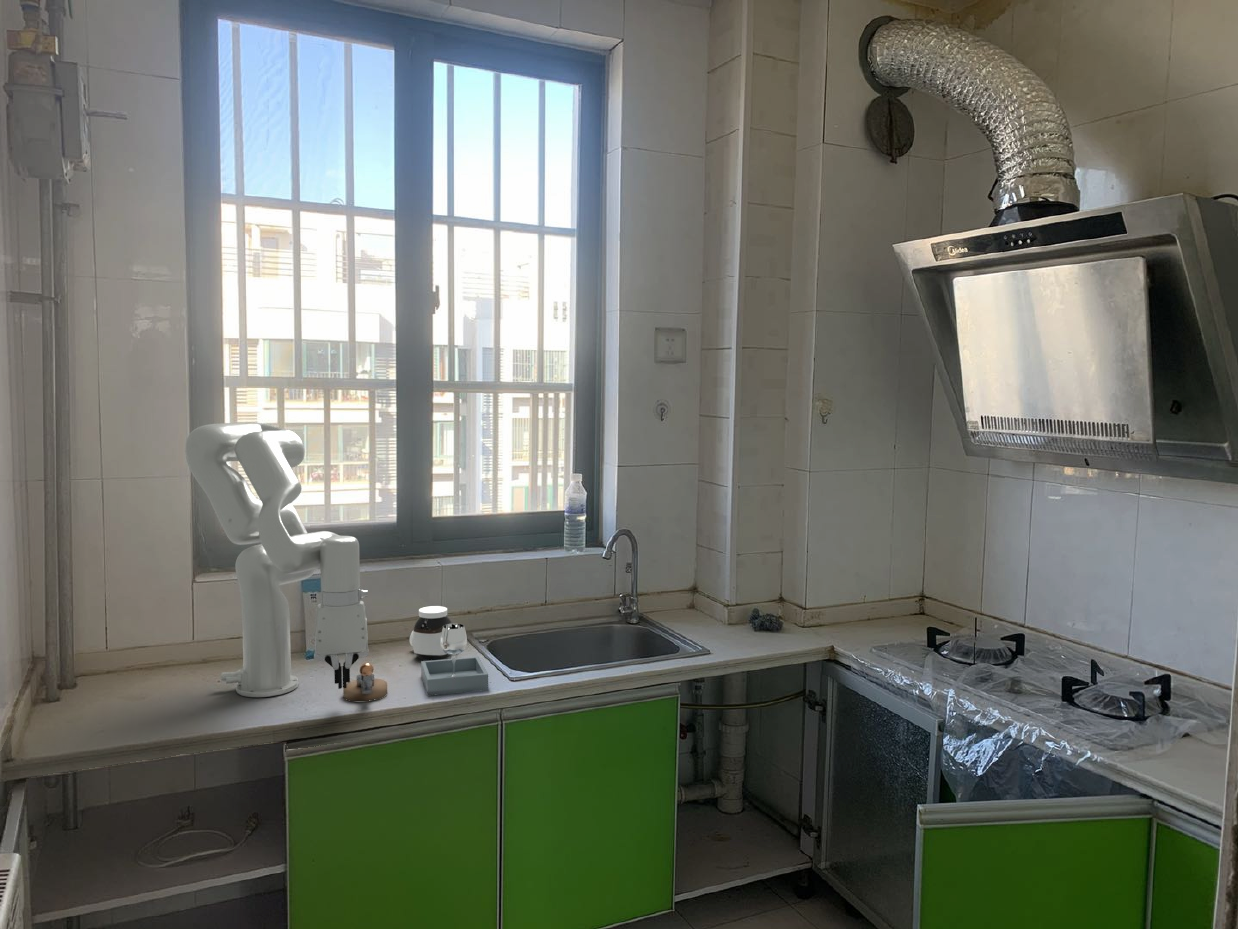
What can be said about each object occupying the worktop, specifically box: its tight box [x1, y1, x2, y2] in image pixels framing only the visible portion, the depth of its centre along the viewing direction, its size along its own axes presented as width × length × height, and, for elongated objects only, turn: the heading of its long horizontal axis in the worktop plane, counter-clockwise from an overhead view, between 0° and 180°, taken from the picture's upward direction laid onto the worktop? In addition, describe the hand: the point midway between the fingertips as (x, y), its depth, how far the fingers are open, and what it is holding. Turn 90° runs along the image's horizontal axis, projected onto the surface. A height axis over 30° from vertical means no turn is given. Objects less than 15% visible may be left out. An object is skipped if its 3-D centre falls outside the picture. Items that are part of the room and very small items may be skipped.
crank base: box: [342, 678, 388, 702], centre depth 186 cm, size 9×9×2 cm
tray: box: [420, 656, 489, 696], centre depth 194 cm, size 13×13×4 cm
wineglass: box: [440, 623, 468, 677], centre depth 194 cm, size 6×6×12 cm
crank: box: [356, 662, 375, 694], centre depth 182 cm, size 10×4×7 cm, turn 18°
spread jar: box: [409, 605, 453, 661], centre depth 214 cm, size 12×11×12 cm
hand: (342, 686), depth 177 cm, fingers closed
